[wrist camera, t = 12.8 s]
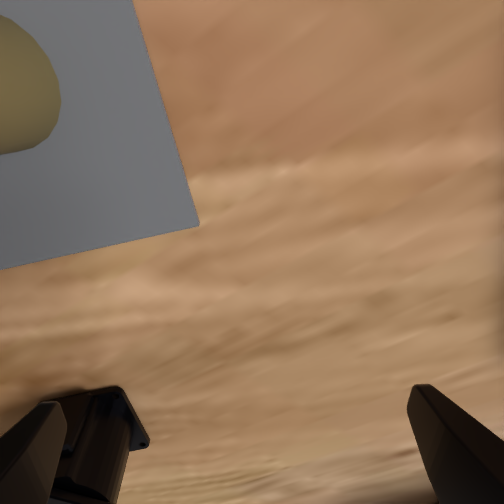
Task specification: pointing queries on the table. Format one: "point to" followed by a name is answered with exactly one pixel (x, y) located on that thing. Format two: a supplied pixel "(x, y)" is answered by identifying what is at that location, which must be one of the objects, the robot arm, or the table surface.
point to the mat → (92, 140)
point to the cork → (25, 90)
